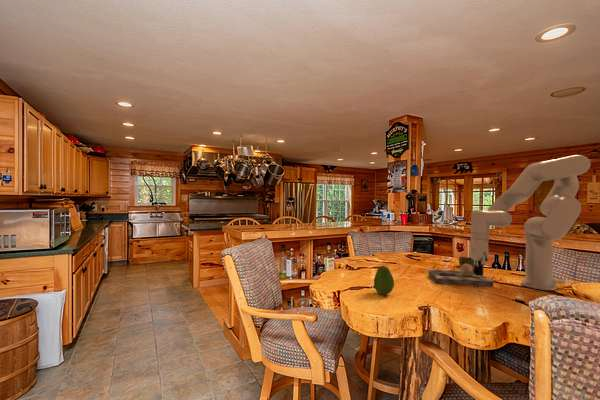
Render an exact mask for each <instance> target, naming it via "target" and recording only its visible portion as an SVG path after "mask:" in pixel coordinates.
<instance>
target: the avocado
mask: <svg viewBox="0 0 600 400" xmlns="http://www.w3.org/2000/svg"><path fill="white" fill-rule="evenodd" d="M373 286H374V289H375V291H376V292H377V293H378V295H381V296H386V295H389V294H391V292H392V291H393V289H394V288H395V287H394V286H395V280H394V277H393V275H392V273H391V271H390V269H389V268H388V267H387V266H385V265H380V266H379V267H378V268H377V269H376V273H375V276H374V279H373Z"/></svg>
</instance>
